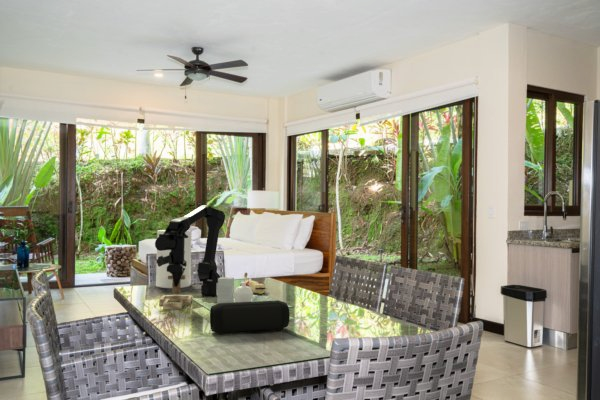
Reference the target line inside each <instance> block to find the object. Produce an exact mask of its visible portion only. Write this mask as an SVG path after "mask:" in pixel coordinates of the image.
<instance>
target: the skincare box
mask: <svg viewBox="0 0 600 400" xmlns="http://www.w3.org/2000/svg"><path fill="white" fill-rule="evenodd" d="M234 291H235V278H234V277H224V276H222V277H221V276H220V278H218V283H217V303H216V304H219V303H231V302H235V299H234V296H233V293H234Z"/></svg>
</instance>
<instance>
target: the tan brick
mask: <svg viewBox="0 0 600 400" xmlns="http://www.w3.org/2000/svg"><path fill="white" fill-rule="evenodd" d="M185 276H186V275H182V276H181V279H185ZM168 279H173V276H172V275H168ZM181 279H180V281H179V284H178V286H177V287H175V285H174V280H173V283H172V288H171V289H172V290H171V292H172V293H171V295H181V288H180V286H181Z"/></svg>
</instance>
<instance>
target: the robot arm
mask: <svg viewBox="0 0 600 400" xmlns="http://www.w3.org/2000/svg"><path fill="white" fill-rule="evenodd" d="M202 218H204V219H206V220H205V221H206V225H207V229H208V230H207V237H206V243H205V251H204V255H203V260H202V261H201V262H198V264H197V269H196V272H197V276H198V279H199V282H202V284H201V287H200V288H201V289H200V293H201V297H217V296H218V278H220V277H221V276H220V274H219V273H218V266H217V264H216V254H217V247H218V240H219V236H220V235H219V233H220V230H221V228H222V227H223V226H224V224H225V220H226V213H224V211H223V210H219V209H217V208H214V207H212V206H210V205H205V204H203V205H199V207H197V208H195V209H194V210H192V211H191V212H189V213H188V214H186V215H184V216H182V217H180V216H179V217H176V218H173V219H171V220H169V224H167V227H166V229H164V230H165V232H164V234H159V237H158V238H157V237H156V240H155V242H154V246H155V248H156V251H157V250H159V251H163V250H171V252H169V255H167V256H164V257H163V256H160V257H158V259H157V258H156V265H157V264H158V267H160V266H162V265H164V264H167V263H169V265H168V266H167V272H170V273H171V274H172V276H173V280H174V285H175V287H177V286H178V284H179V281H180V279H181V276H182V275H183V273H184V270H185V268H183V266H185V267H186V266H187V262H186V261H185V260H184V254H185V251H184V246H185V238H188V236H187V235H186V234H185V232H186V231H187V230H188V231H189V229H190V228H191V225H193V224H194V223H196V222H198V221H199V220H201V219H202Z"/></svg>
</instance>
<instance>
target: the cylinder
mask: <svg viewBox="0 0 600 400" xmlns="http://www.w3.org/2000/svg"><path fill="white" fill-rule="evenodd" d="M165 230H166V229H162V230H161V229H160V230H159V229H158V230H157V233H156V234H157V235H156V239H157V238H158V237H159V234H164V232H165ZM185 234H186V235H187V236H188V238H185V246H184V251H185V254H184V260H185V261H186V262H187V266H186V267H185V266H183V268H185V270H184V273H183V275H186V276H185V279H181V286H180V289H181V288H187V287H188V288H189V287H190V286H191V282H192V281H191V276H192V272H191V271H192V230H189V229H188V230H187V231H186V232H185ZM169 252H171V250H163V251H159V250H157V249H156V260H157V259H158V257H160V256H163V257H164V256H167V255H169ZM168 265H169V263H167V264H164V265H162V266H160V267H158V264H157V263H156V266H155V267H156V268H155V272H156V273H155V287H157V288H163V289H172V283H173V279H168V275H172V274H171V273H170V272H167V266H168Z"/></svg>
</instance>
